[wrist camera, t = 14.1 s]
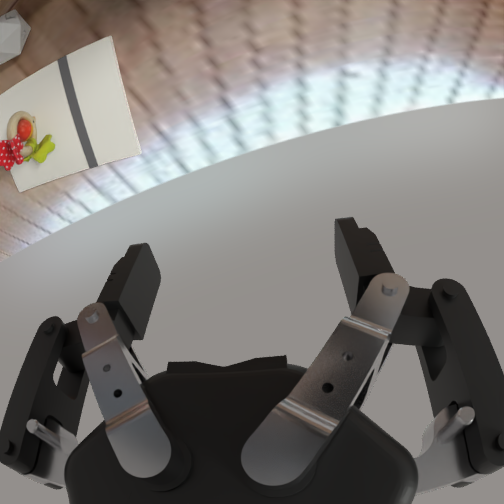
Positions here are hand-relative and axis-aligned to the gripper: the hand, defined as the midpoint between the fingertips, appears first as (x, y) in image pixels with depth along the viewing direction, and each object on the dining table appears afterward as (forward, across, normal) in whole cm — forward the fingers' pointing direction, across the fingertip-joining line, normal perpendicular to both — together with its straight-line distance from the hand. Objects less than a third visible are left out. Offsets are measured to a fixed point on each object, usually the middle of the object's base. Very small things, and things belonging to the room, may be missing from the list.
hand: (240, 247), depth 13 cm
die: (+30, +32, -23) cm, 50 cm away
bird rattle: (+30, +32, -6) cm, 44 cm away
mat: (+30, +29, -6) cm, 42 cm away
